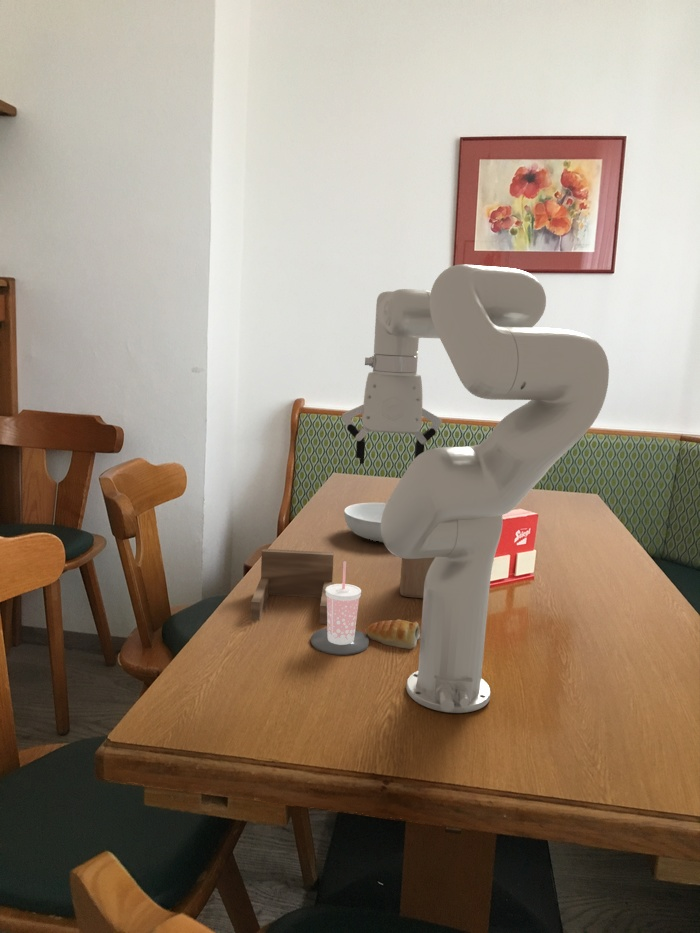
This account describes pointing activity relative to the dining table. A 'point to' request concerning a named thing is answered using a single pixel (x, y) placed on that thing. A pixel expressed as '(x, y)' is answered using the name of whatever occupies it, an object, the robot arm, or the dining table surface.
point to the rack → (293, 577)
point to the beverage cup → (342, 611)
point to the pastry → (395, 633)
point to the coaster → (322, 644)
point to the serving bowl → (365, 519)
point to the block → (414, 576)
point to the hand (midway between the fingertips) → (389, 463)
